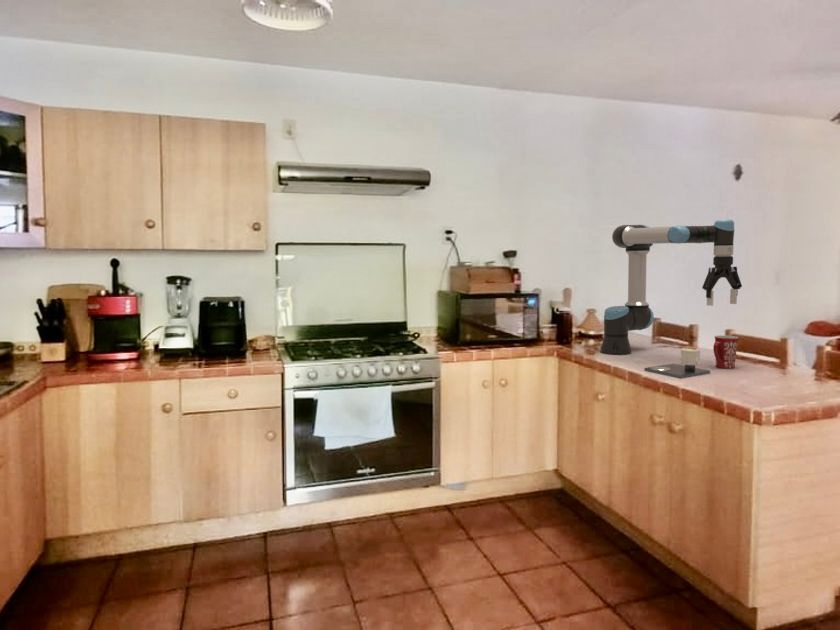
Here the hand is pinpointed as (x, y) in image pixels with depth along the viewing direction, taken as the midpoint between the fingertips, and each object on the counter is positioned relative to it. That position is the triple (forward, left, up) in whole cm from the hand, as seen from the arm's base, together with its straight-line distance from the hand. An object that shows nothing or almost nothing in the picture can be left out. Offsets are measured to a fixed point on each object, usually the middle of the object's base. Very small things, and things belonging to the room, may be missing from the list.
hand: (721, 304), depth 243 cm
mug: (+2, -2, -28) cm, 28 cm away
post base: (-2, -26, -27) cm, 37 cm away
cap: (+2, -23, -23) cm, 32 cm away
